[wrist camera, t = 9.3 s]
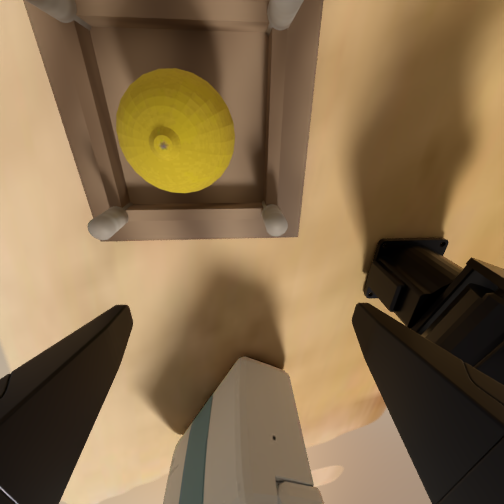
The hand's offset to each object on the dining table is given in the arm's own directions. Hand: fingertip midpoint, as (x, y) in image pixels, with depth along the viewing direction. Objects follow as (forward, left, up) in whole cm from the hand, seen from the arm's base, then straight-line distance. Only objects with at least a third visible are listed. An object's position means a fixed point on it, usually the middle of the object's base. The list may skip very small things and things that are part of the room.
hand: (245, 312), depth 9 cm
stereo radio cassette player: (+2, +27, -12) cm, 29 cm away
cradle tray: (+3, -6, -12) cm, 14 cm away
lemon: (+3, -6, -11) cm, 13 cm away
